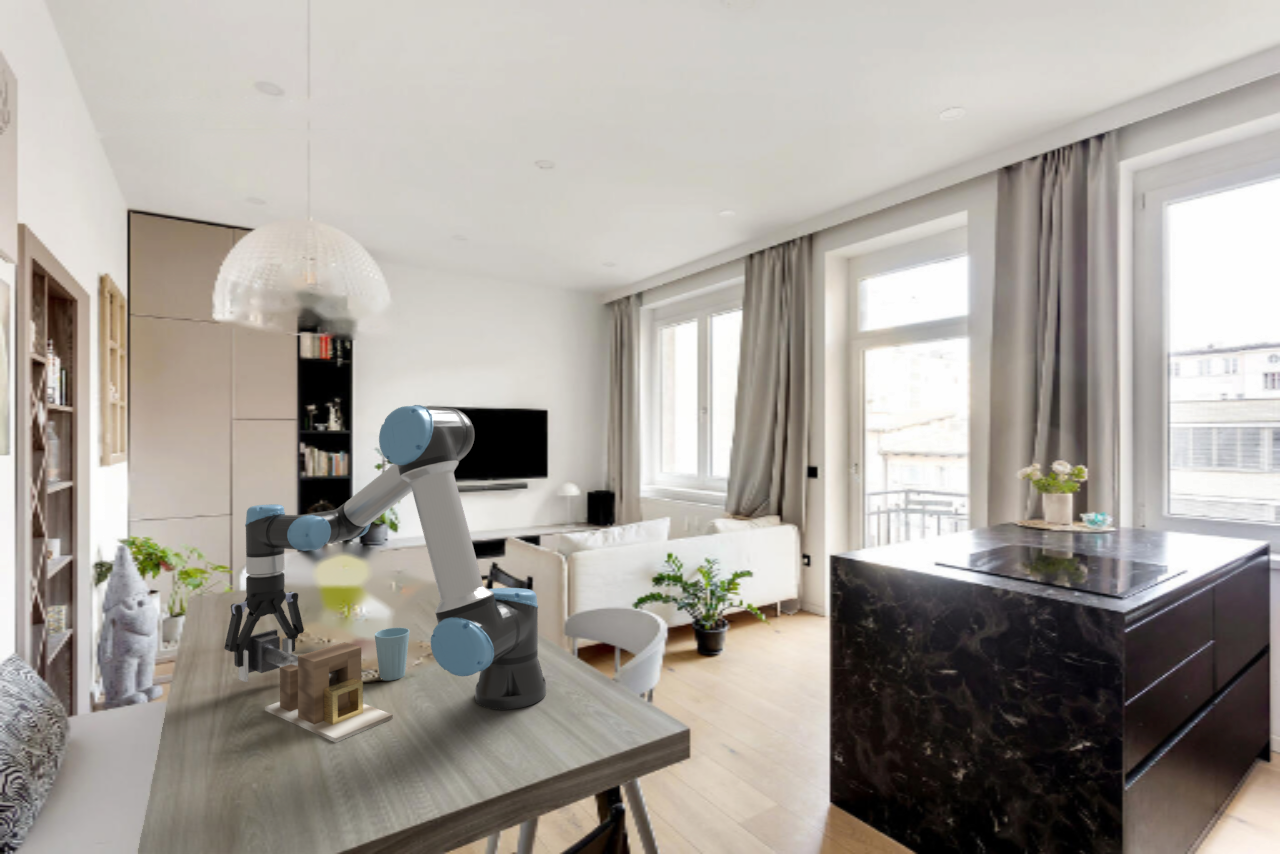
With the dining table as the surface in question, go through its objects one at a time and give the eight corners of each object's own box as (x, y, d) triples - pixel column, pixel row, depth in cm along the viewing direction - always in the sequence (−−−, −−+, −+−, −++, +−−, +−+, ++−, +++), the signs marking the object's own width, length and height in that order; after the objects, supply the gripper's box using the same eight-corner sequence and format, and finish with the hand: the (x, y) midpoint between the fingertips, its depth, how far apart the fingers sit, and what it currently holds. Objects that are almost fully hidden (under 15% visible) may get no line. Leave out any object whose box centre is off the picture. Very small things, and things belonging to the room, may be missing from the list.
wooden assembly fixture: (392, 718, 129) (392, 653, 129) (335, 742, 119) (335, 672, 119) (321, 690, 143) (320, 632, 143) (265, 710, 133) (264, 647, 133)
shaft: (346, 690, 133) (346, 651, 133) (313, 702, 127) (313, 661, 128) (275, 663, 149) (275, 629, 150) (243, 673, 144) (243, 637, 144)
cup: (411, 679, 149) (410, 634, 150) (375, 684, 146) (375, 639, 147) (408, 668, 156) (408, 625, 157) (374, 673, 153) (374, 630, 153)
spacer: (363, 712, 130) (362, 681, 130) (332, 725, 124) (332, 692, 124) (354, 709, 131) (354, 678, 131) (324, 721, 126) (324, 688, 126)
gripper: (303, 563, 156) (304, 656, 156) (204, 580, 138) (205, 685, 138) (320, 566, 152) (321, 662, 152) (220, 585, 134) (221, 693, 134)
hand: (265, 673), depth 145 cm, fingers open, 9 cm apart
